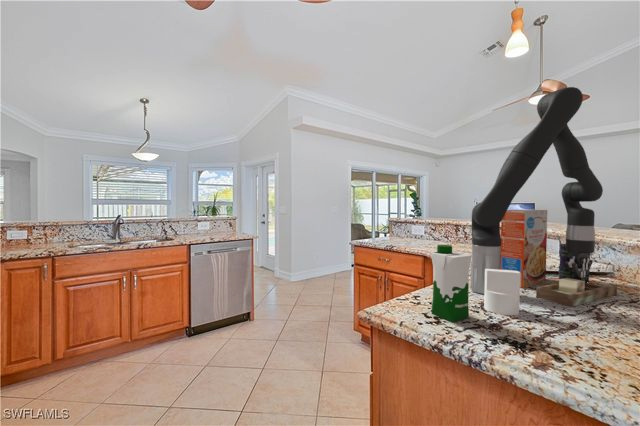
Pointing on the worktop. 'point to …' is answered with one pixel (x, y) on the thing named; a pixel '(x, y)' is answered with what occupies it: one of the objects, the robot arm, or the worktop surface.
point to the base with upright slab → (502, 291)
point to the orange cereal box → (524, 244)
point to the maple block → (571, 285)
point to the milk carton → (450, 284)
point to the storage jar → (563, 268)
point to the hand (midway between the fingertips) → (578, 287)
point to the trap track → (575, 294)
